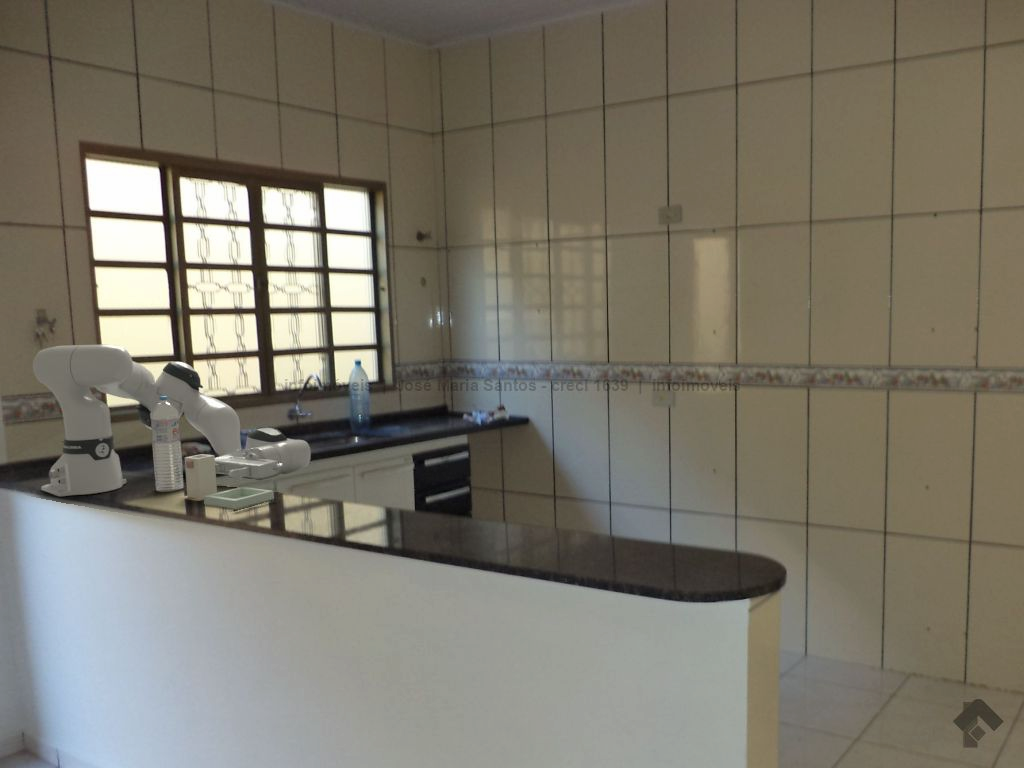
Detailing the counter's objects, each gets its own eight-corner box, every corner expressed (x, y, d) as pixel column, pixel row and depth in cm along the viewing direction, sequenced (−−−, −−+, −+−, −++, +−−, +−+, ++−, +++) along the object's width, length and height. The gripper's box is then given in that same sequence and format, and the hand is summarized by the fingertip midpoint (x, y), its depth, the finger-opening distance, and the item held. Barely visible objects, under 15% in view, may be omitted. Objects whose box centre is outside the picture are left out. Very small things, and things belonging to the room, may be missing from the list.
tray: (204, 506, 200) (203, 496, 200) (243, 496, 210) (242, 486, 210) (235, 511, 194) (235, 500, 194) (274, 500, 204) (273, 490, 203)
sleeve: (184, 497, 208) (181, 458, 207) (204, 492, 213) (201, 454, 212) (197, 499, 205) (194, 459, 204) (217, 494, 210) (214, 455, 209)
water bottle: (171, 487, 224) (164, 395, 222) (189, 489, 221) (183, 395, 219) (150, 492, 218) (142, 397, 216) (169, 494, 215) (161, 398, 213)
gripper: (288, 477, 219) (246, 488, 208) (237, 471, 230) (194, 481, 219) (287, 454, 218) (244, 463, 207) (236, 448, 230) (192, 457, 218)
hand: (218, 472), depth 213 cm, fingers open, 8 cm apart
